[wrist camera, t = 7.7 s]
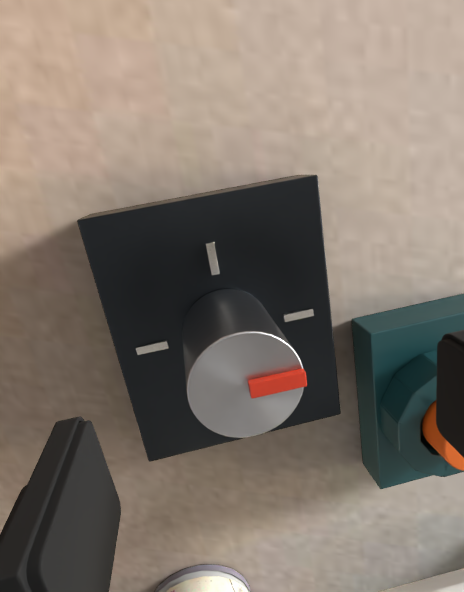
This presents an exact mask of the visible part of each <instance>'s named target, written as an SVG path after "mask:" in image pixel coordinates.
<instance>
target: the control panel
mask: <svg viewBox="0 0 464 592" xmlns="http://www.w3.org/2000/svg"><path fill="white" fill-rule="evenodd" d="M77 222H78V226H79V229H80V232H81V236H82V239H83V242H84V246H85V249H86V252H87V256H88V259H89V262H90V266H91V269H92V273H93V276H94V279H95V283H96V286H97V289H98V293H99V296H100V299H101V303H102V306H103V309H104V313H105V316H106V319H107V323H108V326H109V329H110V333H111V336H112V339H113V343H114V346H115V349H116V353H117V356H118V360H119V363H120V366H121V370H122V373H123V376H124V380H125V383H126V386H127V390H128V393H129V396H130V400H131V403H132V406H133V410H134V413H135V416H136V420H137V423H138V426H139V430H140V433H141V436H142V440H143V443H144V447H145V450H146V453H147V457H148V460H149V461H154V460H158V459H162V458H166V457H170V456H174V455H178V454H182V453H186V452H190V451H194V450H198V449H202V448H206V447H210V446H214V445H218V444H222V443H226V442H230V441H234V440H238V439H242V438H235V437H228V436H224V435H220V434H218V433H216V432H213V431H212V430H210V429H208V428H207V427H206V426H204V425H203V424H202V423H201V422H200V421H199V420H198V419H197V418H196V416H195V415H194V413H193V412H192V410H191V408H190V405H189V402H188V398H187V390H186V376H185V363H184V350H183V336H182V329H183V323H184V320H185V317H186V315H187V313H188V311H189V310H190V308H191V307H192V306H193V304H194V303H195V302H196V301H198V300H199V299H200V298H201V297H203V296H205V295H206V294H208V293H211V292H213V291H217V290H222V289H236V290H240V291H244V292H246V293H248V294H250V295H252V296H253V297H255V298H256V299H257V300H258V301H259V302H260V303H261V304H262V305H263V307H264V308H265V309H266V311H267V312H268V314H269V315H270V316H271V318H272V319H273V321H274V322H275V324H276V325H277V326H278V328H279V329H280V331H281V332H282V333H283V335H284V336H285V338H286V339H287V340H288V342H289V343H290V345H291V346H292V347H293V349H294V350H295V352H296V353H297V354H298V356H299V358H300V360H301V363H302V366H303V369H304V371H305V372H306V380H307V386H306V387H304V388H303V393H302V396H301V398H300V401H299V403H298V405H297V407H296V408H295V410H294V411H293V412H292V414H291V415H290V416H289V417H288V418H287V419H286V420H285V421H284V422H283V423H281V424H280V425H279V426H277V427H276V428H274V429H272V430H270V431H275V430H279V429H283V428H287V427H291V426H295V425H299V424H303V423H307V422H311V421H315V420H319V419H323V418H327V417H331V416H335V415H339V414H340V413H341V412H340V402H339V392H338V382H337V371H336V361H335V351H334V341H333V330H332V320H331V310H330V300H329V289H328V279H327V269H326V259H325V248H324V238H323V228H322V217H321V207H320V197H319V187H318V176H317V175H296V176H291V177H285V178H280V179H275V180H269V181H264V182H259V183H253V184H248V185H243V186H237V187H232V188H227V189H221V190H216V191H211V192H206V193H200V194H195V195H190V196H184V197H179V198H174V199H168V200H163V201H158V202H152V203H147V204H142V205H136V206H131V207H126V208H120V209H115V210H110V211H105V212H99V213H94V214H90V215H87V216H85V217H83V218H81V219H79V220H77ZM270 431H268V432H270ZM245 438H246V437H245Z"/></svg>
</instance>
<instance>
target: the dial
mask: <svg viewBox="0 0 464 592" xmlns="http://www.w3.org/2000/svg"><path fill="white" fill-rule="evenodd" d="M182 336H183V350H184V363H185V376H186V390H187V398H188V402H189V405H190V408H191V410H192V412H193V413H194V415H195V416H196V418H197V419H198V420H199V421H200V422H201V423H202V424H203V425H204V426H206V427H207V428H208V429H210V430H212V431H213V432H216V433H218V434H220V435H224V436H228V437H235V438H245V437H252V436H257V435H260V434H263V433H266V432H268V431H270V430H272V429H274V428H276V427H277V426H279V425H280V424H281V423H283V422H284V421H285V420H286V419H287V418H288V417H289V416H290V415H291V414H292V412H293V411H294V410H295V408H296V407H297V405H298V403H299V401H300V398H301V396H302V393H303V388H304V387H306V386H307V380H306V372H305V371H304V369H303V366H302V363H301V360H300V358H299V356H298V354H297V353H296V352H295V350H294V349H293V347H292V346H291V345H290V343H289V342H288V340H287V339H286V338H285V336H284V335H283V333H282V332H281V331H280V329H279V328H278V326H277V325H276V324H275V322H274V321H273V319H272V318H271V316H270V315H269V314H268V312H267V311H266V309H265V308H264V307H263V305H262V304H261V303H260V302H259V301H258V300H257V299H256V298H255V297H253V296H252V295H250V294H248V293H246V292H244V291H240V290H236V289H222V290H217V291H213V292H211V293H208V294H206V295H205V296H203V297H201V298H200V299H199V300H198V301H196V302H195V303H194V304H193V306H192V307H191V308H190V310H189V311H188V313H187V315H186V317H185V320H184V323H183V329H182Z"/></svg>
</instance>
